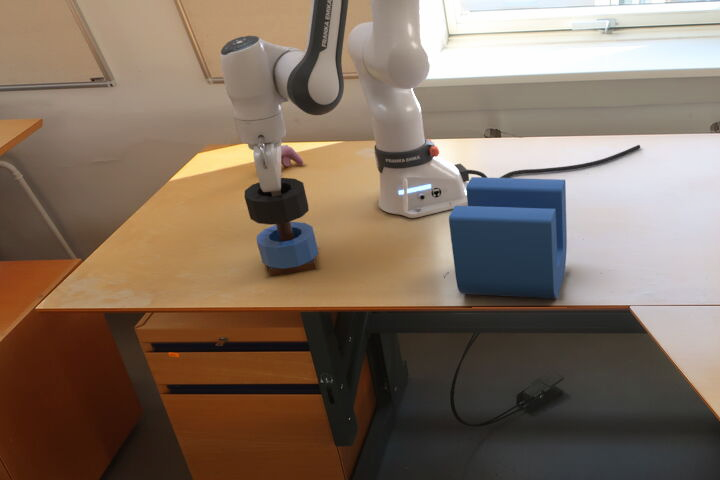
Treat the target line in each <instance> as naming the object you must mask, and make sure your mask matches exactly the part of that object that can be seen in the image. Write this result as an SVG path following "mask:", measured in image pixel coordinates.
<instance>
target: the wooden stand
mask: <svg viewBox="0 0 720 480" xmlns="http://www.w3.org/2000/svg"><path fill="white" fill-rule="evenodd" d="M290 222H291V221H290ZM290 222H287V223H280V224H275V225H276V226H277V230H278V234H279V237H280V241H281V242H284V241H290V240H292V239H294V235H293V231H292V227H291V223H290ZM316 264H317V263H316V257H315V258H314V259H313V260H312V261H310V262H307V263H305V264H303V265H301V266H297V267H291V268H285V269H282V268H271V267H269V266H268V271H269V275H270V276H271V277H273V276H277V275H284V274H285V275H286V274H291V273H296V272H303V271H309V270H315V269H316V268H317V265H316Z"/></svg>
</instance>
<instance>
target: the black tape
mask: <svg viewBox="0 0 720 480" xmlns="http://www.w3.org/2000/svg"><path fill="white" fill-rule="evenodd" d="M281 193H282V194H281V195H278V196H272V194H271V192H263V191H262V189H261V187H260V183H259V181H258V182H255V183H253V184H251V185H250V186H248V188H246V189H244V200H245V204H246V207H247V211H248V215H249V218H250V219H249V220H252V221H253V222H255V223H257V224H260V225H271V226H274V225H276V224H280V223H287V222H294V221H295V220H298V219H300V218H302V217H303V216H305V215H306V214H307V213H308V212H309V210H310V209H309V202H308V198H307V193H306V189H305V184H304V182H303V181H301V180H298V179H297V178H291V177H281Z"/></svg>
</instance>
